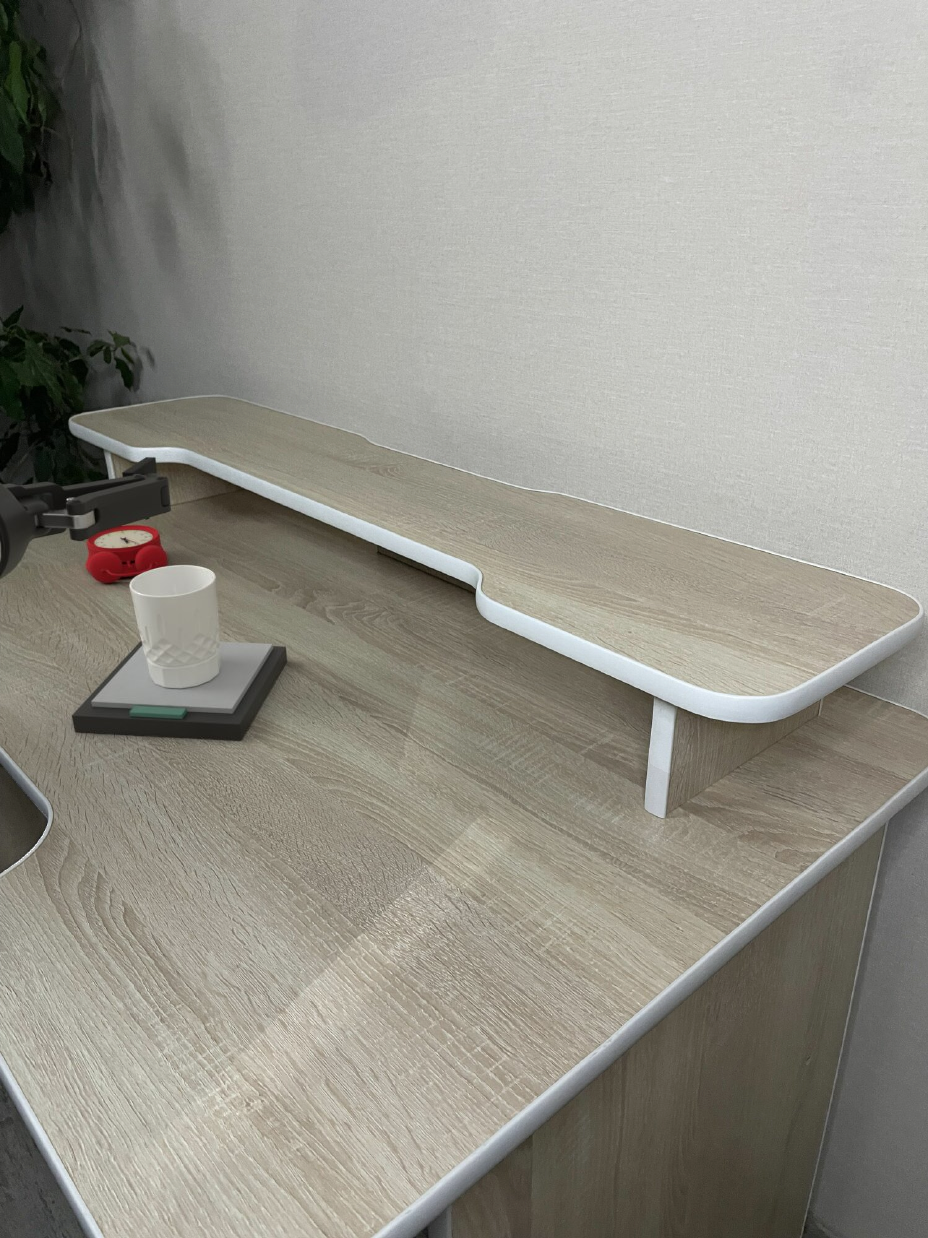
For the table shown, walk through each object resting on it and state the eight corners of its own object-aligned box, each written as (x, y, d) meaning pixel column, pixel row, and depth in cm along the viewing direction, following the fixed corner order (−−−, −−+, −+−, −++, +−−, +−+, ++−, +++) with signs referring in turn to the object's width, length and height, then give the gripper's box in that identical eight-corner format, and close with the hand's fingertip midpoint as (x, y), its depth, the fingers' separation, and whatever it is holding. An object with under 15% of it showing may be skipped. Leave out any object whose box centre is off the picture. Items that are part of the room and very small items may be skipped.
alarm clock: (158, 519, 132) (168, 529, 118) (165, 563, 133) (176, 578, 119) (79, 529, 128) (80, 540, 114) (87, 574, 129) (89, 590, 116)
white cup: (243, 667, 94) (233, 575, 90) (183, 700, 88) (169, 603, 84) (188, 648, 98) (175, 559, 94) (127, 679, 92) (111, 585, 88)
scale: (74, 732, 87) (70, 709, 86) (143, 654, 102) (140, 634, 101) (241, 741, 86) (239, 718, 85) (287, 661, 101) (285, 641, 100)
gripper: (-263, 598, 56) (-84, 515, 76) (158, 602, 58) (225, 519, 77) (-294, 474, 54) (-101, 422, 74) (147, 481, 55) (220, 428, 75)
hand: (67, 472), depth 76 cm, fingers open, 13 cm apart
